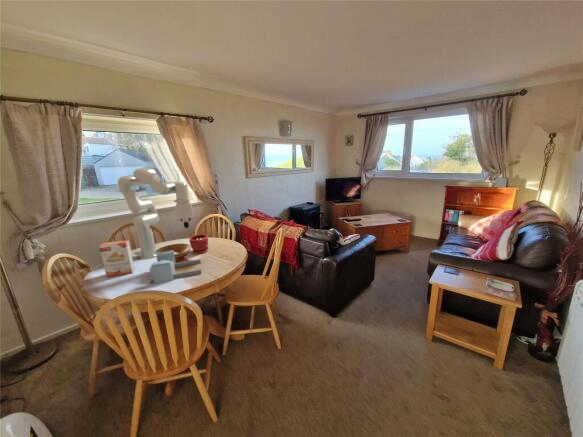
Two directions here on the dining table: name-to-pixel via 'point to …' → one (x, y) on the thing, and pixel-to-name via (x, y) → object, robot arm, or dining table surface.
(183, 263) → the grey long bars
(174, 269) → the lumpy-topped squat cylinder
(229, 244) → the dining table surface
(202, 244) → the plant pot
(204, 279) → the dining table surface
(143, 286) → the dining table surface
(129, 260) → the cracker box
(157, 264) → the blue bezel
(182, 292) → the dining table surface
